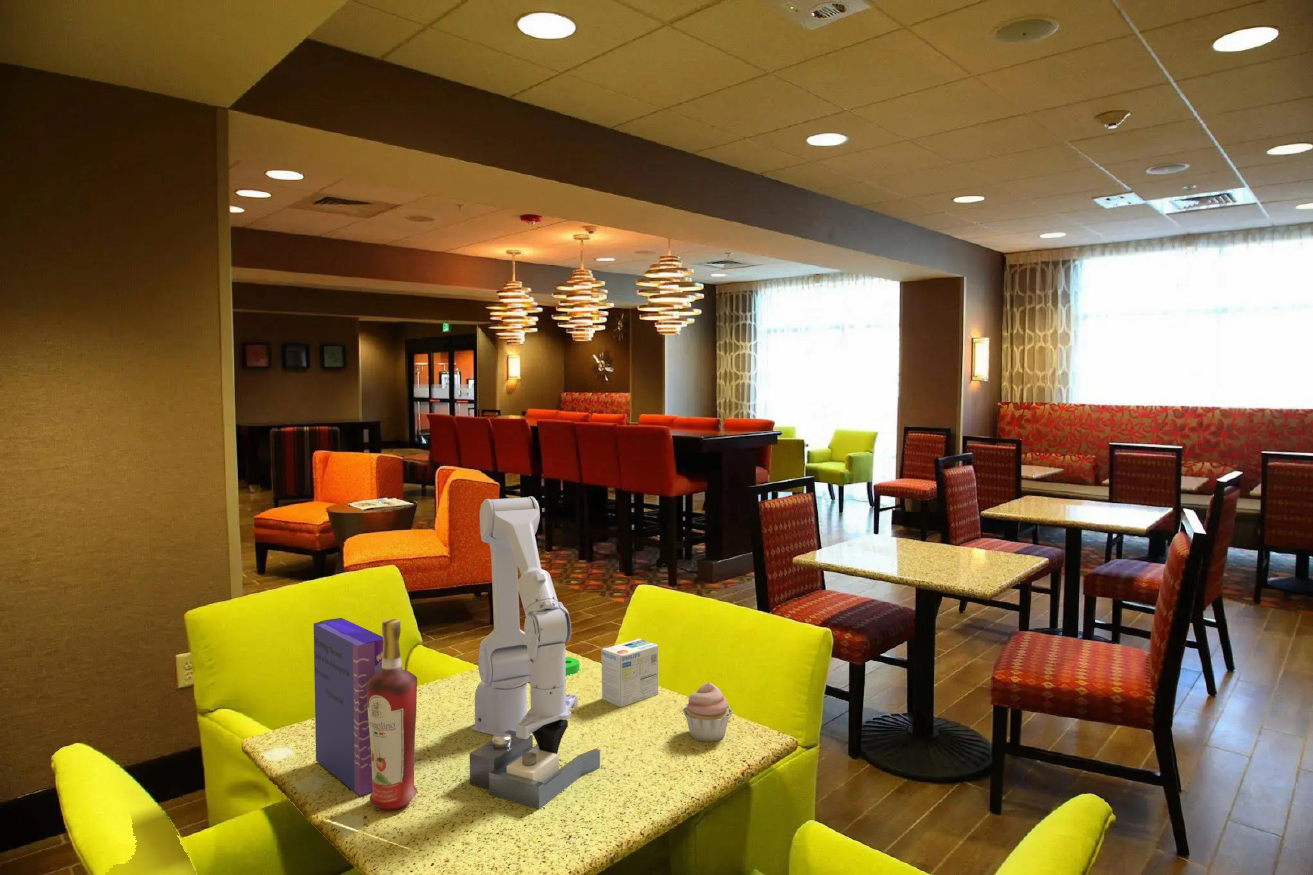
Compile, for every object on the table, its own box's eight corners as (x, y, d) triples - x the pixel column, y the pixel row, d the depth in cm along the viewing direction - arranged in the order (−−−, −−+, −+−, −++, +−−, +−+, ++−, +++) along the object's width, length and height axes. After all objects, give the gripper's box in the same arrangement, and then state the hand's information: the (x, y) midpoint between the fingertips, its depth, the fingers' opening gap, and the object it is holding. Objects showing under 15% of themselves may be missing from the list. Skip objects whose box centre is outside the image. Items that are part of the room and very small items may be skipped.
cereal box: (389, 786, 121) (387, 637, 120) (360, 797, 117) (357, 644, 117) (343, 751, 133) (341, 616, 132) (315, 760, 130) (313, 622, 129)
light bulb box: (638, 686, 164) (638, 637, 164) (659, 695, 159) (659, 644, 159) (600, 699, 157) (599, 647, 157) (620, 708, 152) (620, 655, 152)
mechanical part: (541, 684, 166) (540, 648, 166) (526, 677, 171) (525, 642, 171) (584, 671, 175) (584, 636, 174) (569, 664, 179) (569, 631, 179)
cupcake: (696, 751, 133) (696, 694, 133) (673, 730, 142) (673, 677, 141) (742, 741, 137) (742, 686, 137) (717, 722, 146) (717, 670, 145)
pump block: (506, 794, 118) (506, 758, 118) (533, 775, 124) (533, 741, 124) (533, 802, 116) (532, 765, 116) (558, 782, 122) (558, 747, 122)
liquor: (357, 811, 113) (354, 626, 112) (387, 788, 120) (384, 613, 119) (400, 818, 111) (397, 630, 110) (428, 794, 118) (425, 616, 117)
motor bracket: (464, 787, 120) (464, 749, 120) (525, 748, 134) (525, 713, 134) (545, 811, 113) (545, 770, 113) (601, 767, 127) (600, 730, 127)
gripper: (541, 702, 115) (542, 790, 116) (592, 673, 128) (593, 752, 129) (504, 694, 118) (505, 780, 119) (558, 666, 131) (558, 743, 132)
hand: (548, 765), depth 124 cm, fingers closed
